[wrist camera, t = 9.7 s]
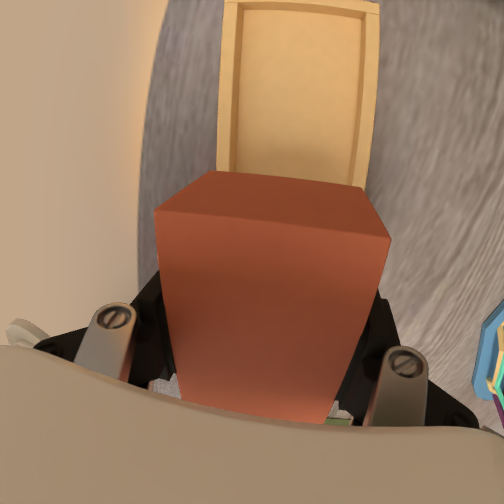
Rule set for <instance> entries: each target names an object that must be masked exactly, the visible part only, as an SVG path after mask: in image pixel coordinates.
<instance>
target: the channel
mask: <svg viewBox="0 0 504 504" xmlns="http://www.w3.org/2000/svg"><path fill="white" fill-rule="evenodd" d="M224 3H225V4H224V15H223V29H222V44H221V60H220V78H219V100H218V126H217V162H216V171H225V172H238V173H250V174H261V175H271V176H281V177H290V178H298V179H306V180H314V181H322V182H329V183H336V184H343V185H350V186H356V187H361V188H362V189H363V191H365V185H366V179H367V172H368V166H369V159H370V151H371V144H372V136H373V127H374V118H375V108H376V96H377V83H378V67H379V41H380V16H379V15H380V4H377V3H373V2H368V1H363V0H225V1H224Z"/></svg>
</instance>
